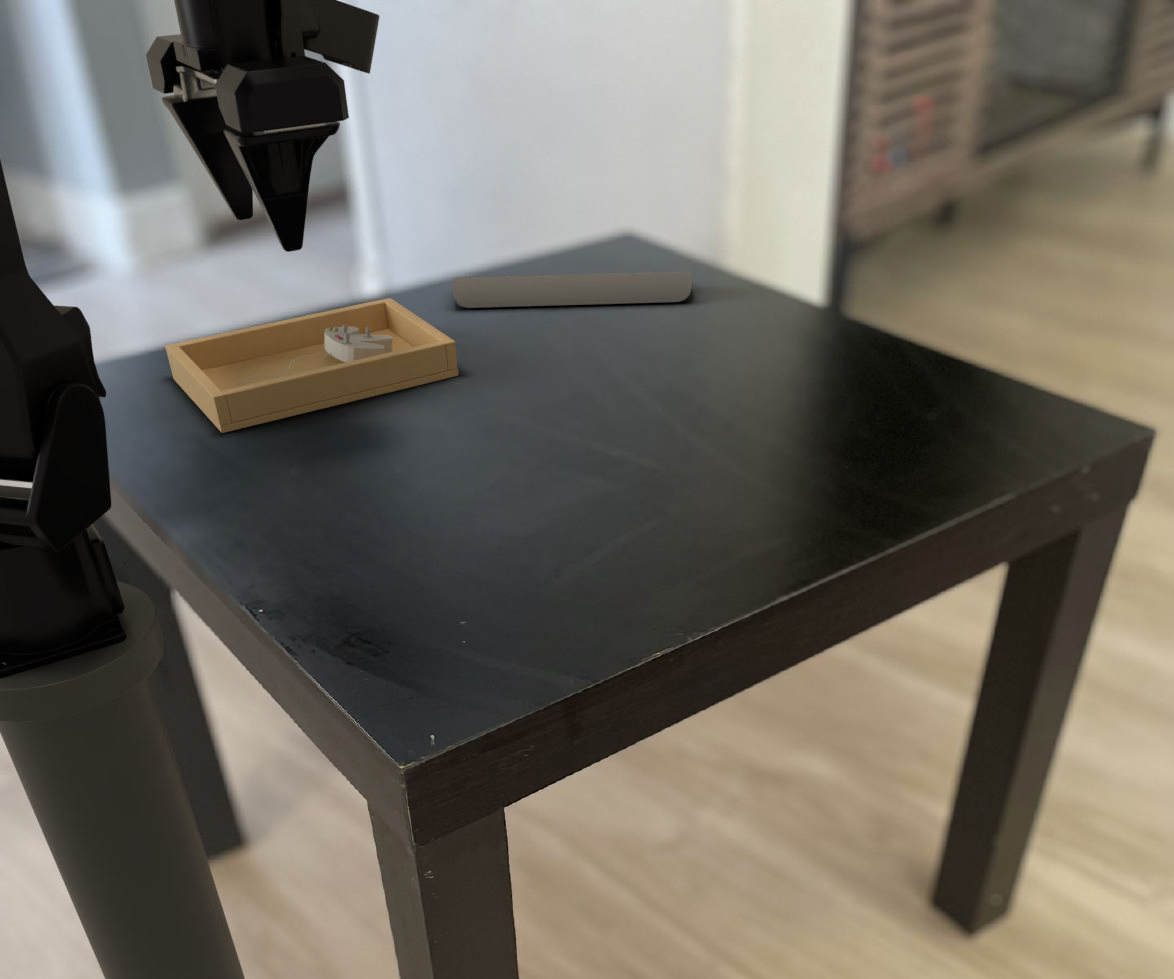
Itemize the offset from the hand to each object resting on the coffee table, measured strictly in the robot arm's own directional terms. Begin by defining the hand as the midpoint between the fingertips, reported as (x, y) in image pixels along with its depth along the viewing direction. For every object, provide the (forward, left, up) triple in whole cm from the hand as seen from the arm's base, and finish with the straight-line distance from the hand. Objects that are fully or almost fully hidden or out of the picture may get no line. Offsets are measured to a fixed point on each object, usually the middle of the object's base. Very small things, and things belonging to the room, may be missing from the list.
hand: (267, 233), depth 77 cm
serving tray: (+3, +5, -12) cm, 13 cm away
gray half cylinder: (+27, +9, -12) cm, 31 cm away
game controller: (+3, +5, -11) cm, 13 cm away
